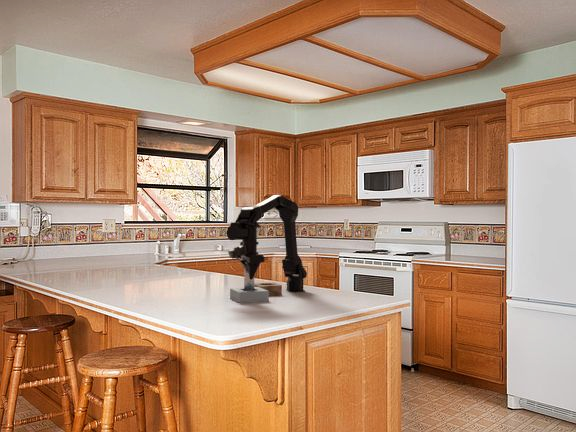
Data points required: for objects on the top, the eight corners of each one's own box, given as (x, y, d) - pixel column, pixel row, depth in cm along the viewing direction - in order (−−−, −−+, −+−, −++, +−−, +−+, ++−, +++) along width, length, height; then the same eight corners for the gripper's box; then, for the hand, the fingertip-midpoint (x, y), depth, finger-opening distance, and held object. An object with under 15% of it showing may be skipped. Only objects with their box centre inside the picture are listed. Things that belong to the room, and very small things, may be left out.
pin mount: (272, 291, 228) (272, 282, 228) (281, 294, 219) (281, 285, 219) (251, 292, 224) (251, 283, 224) (259, 296, 215) (259, 286, 215)
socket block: (258, 296, 214) (258, 286, 214) (268, 301, 203) (268, 290, 203) (230, 298, 209) (230, 288, 209) (239, 303, 198) (239, 292, 198)
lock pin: (252, 291, 209) (252, 264, 209) (256, 293, 205) (256, 265, 205) (241, 291, 207) (241, 264, 207) (245, 293, 203) (245, 265, 203)
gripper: (223, 238, 211) (222, 276, 211) (237, 240, 194) (237, 282, 194) (249, 238, 216) (248, 275, 216) (265, 240, 199) (265, 281, 199)
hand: (249, 278), depth 206 cm, fingers closed on lock pin, 4 cm apart
